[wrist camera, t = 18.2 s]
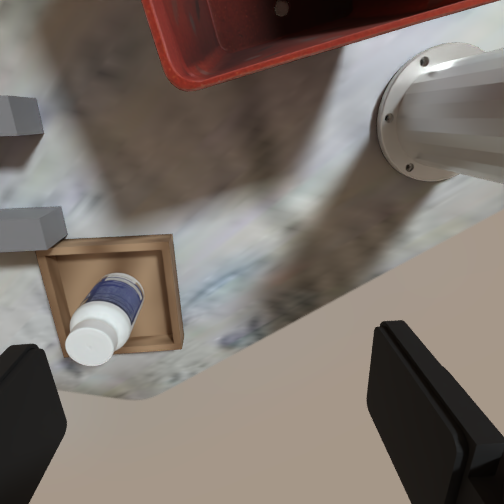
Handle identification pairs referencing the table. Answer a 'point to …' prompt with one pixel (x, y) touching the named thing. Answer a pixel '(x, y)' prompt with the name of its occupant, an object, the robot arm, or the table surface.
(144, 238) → the tray
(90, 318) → the pill bottle
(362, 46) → the table surface
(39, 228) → the dock
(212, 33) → the plant pot
